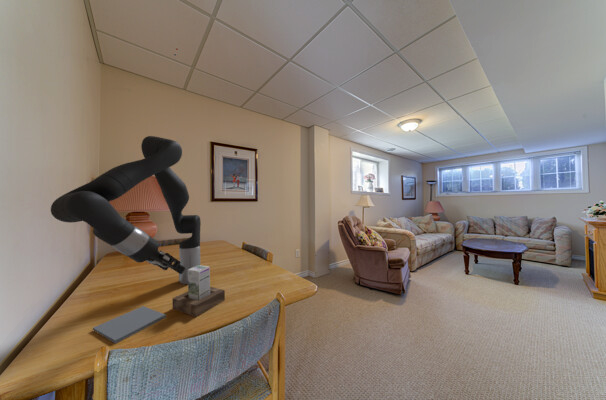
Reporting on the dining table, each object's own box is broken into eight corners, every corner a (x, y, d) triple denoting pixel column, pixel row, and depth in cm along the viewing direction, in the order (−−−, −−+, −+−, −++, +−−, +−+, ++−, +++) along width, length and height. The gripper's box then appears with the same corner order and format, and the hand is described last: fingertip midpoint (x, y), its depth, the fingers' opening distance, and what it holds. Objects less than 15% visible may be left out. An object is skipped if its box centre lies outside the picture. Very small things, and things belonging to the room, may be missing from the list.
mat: (92, 330, 64) (92, 327, 64) (143, 308, 76) (143, 305, 76) (115, 343, 58) (115, 340, 58) (165, 317, 70) (165, 314, 70)
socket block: (172, 308, 76) (172, 298, 76) (202, 293, 88) (202, 284, 88) (195, 317, 71) (195, 305, 70) (224, 299, 82) (224, 290, 82)
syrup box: (211, 301, 81) (210, 265, 81) (199, 309, 75) (198, 270, 75) (200, 299, 83) (199, 264, 83) (187, 306, 77) (187, 269, 77)
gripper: (159, 235, 59) (195, 262, 70) (133, 232, 66) (170, 257, 76) (139, 258, 55) (181, 283, 65) (113, 252, 61) (155, 276, 71)
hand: (175, 269), depth 71 cm, fingers open, 8 cm apart
